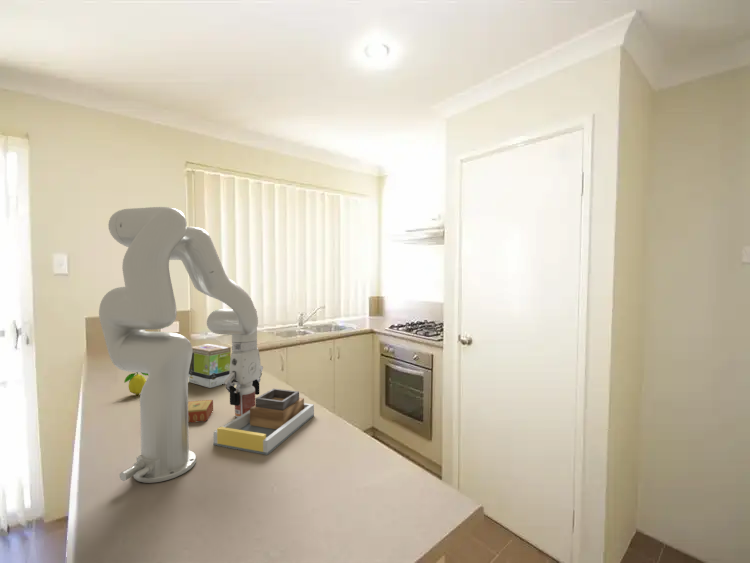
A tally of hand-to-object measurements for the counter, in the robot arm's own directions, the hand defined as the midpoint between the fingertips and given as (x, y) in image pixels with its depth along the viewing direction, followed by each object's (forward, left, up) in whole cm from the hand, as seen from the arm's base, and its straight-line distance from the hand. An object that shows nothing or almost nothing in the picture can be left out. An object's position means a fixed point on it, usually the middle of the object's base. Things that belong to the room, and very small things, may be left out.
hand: (245, 399), depth 112 cm
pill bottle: (0, 0, -5) cm, 5 cm away
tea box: (+23, +35, -5) cm, 42 cm away
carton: (-8, +17, -6) cm, 20 cm away
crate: (-2, -13, -4) cm, 14 cm away
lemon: (+3, +49, -5) cm, 49 cm away
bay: (-7, -13, -5) cm, 15 cm away
